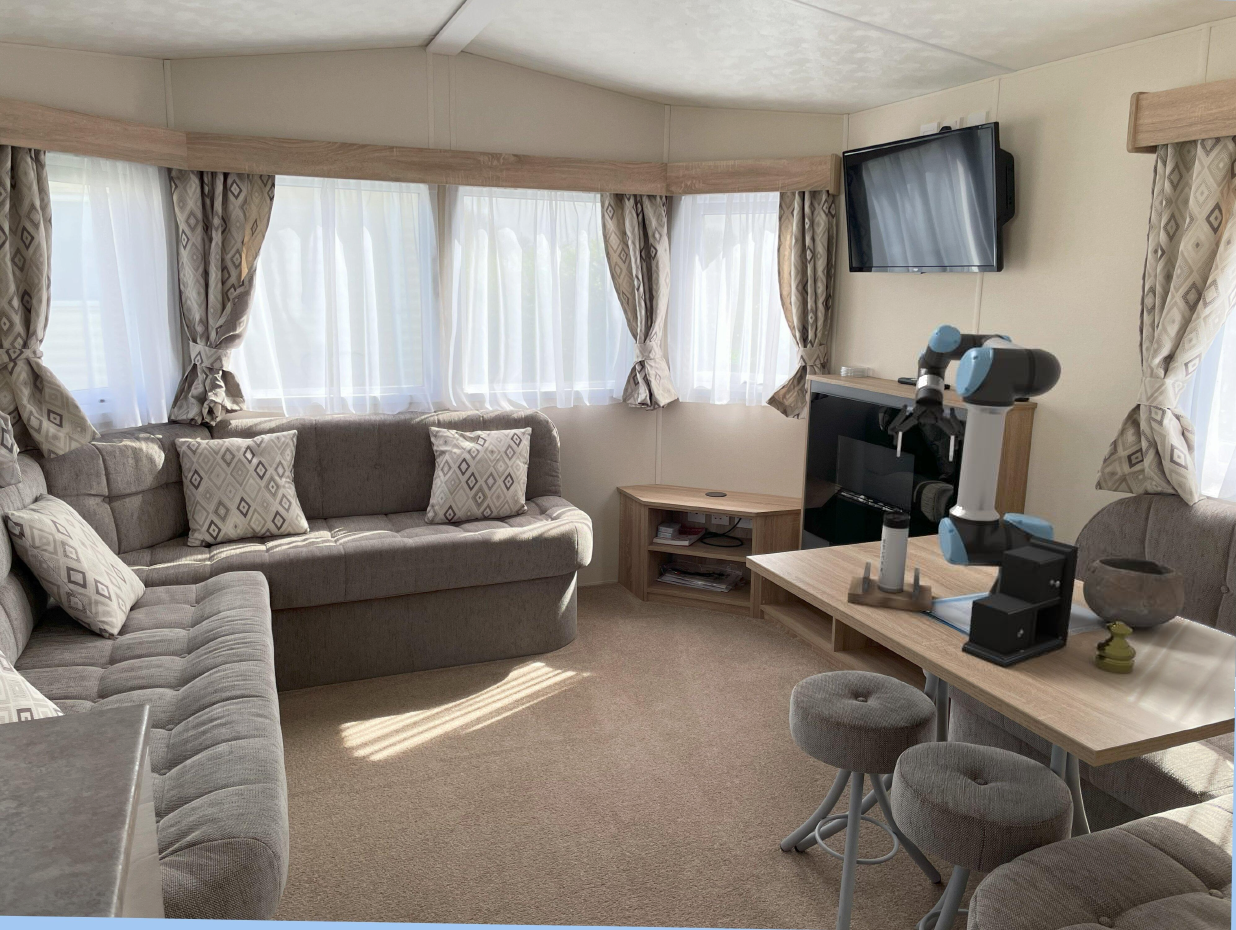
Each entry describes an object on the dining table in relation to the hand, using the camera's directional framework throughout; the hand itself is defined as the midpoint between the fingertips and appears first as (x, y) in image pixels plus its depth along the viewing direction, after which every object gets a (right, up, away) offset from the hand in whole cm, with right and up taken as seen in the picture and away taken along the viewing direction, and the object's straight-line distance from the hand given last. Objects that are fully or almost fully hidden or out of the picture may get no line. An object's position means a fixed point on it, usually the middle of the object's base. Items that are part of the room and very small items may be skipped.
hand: (924, 456), depth 245 cm
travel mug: (-13, -34, -14) cm, 39 cm away
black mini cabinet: (+5, -44, -44) cm, 62 cm away
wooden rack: (-14, -37, -13) cm, 41 cm away
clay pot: (+40, -41, -27) cm, 63 cm away
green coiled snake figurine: (+22, -46, -53) cm, 73 cm away
